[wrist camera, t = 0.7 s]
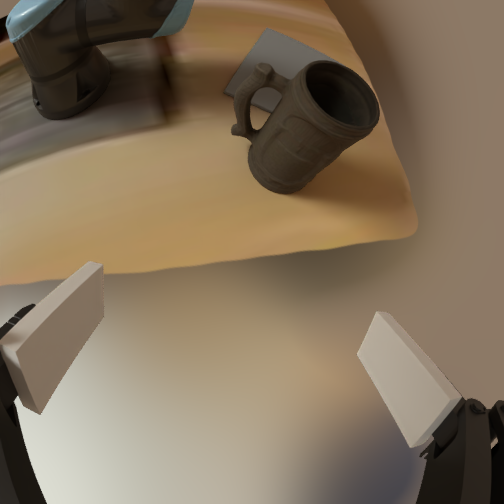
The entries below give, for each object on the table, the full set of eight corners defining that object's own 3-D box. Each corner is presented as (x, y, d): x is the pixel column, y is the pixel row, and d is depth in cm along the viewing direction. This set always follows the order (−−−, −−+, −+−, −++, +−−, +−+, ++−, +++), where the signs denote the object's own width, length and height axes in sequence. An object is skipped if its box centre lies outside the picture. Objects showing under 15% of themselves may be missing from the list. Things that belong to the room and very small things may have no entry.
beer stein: (316, 145, 45) (378, 74, 25) (313, 202, 43) (388, 146, 23) (228, 124, 42) (251, 32, 22) (215, 182, 40) (233, 99, 21)
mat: (336, 147, 46) (338, 145, 45) (223, 93, 41) (224, 91, 41) (353, 72, 50) (354, 71, 50) (266, 29, 46) (266, 27, 45)
